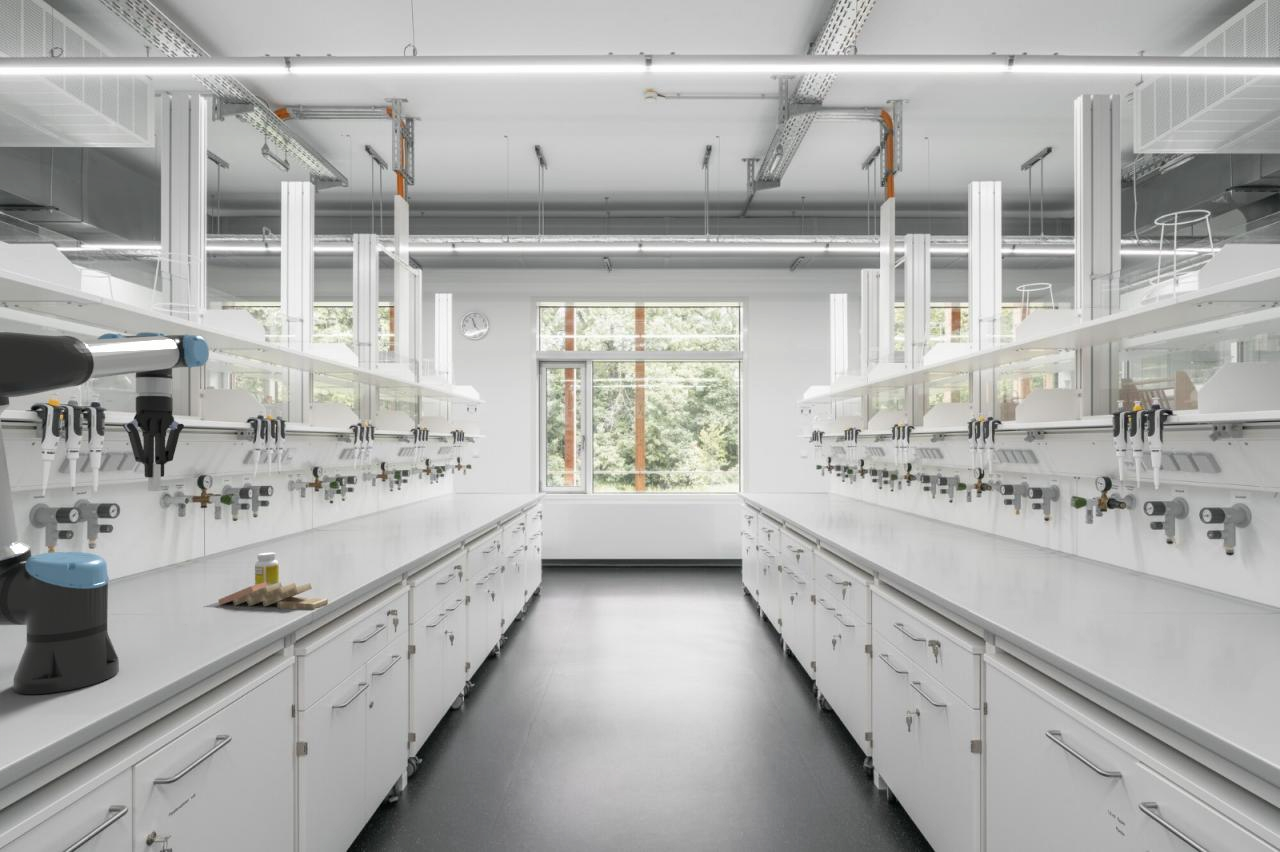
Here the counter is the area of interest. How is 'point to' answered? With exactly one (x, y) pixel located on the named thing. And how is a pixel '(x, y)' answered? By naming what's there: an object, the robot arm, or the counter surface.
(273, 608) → the mat
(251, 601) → the domino
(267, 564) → the pill bottle
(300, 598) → the domino
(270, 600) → the domino
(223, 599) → the domino
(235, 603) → the domino
